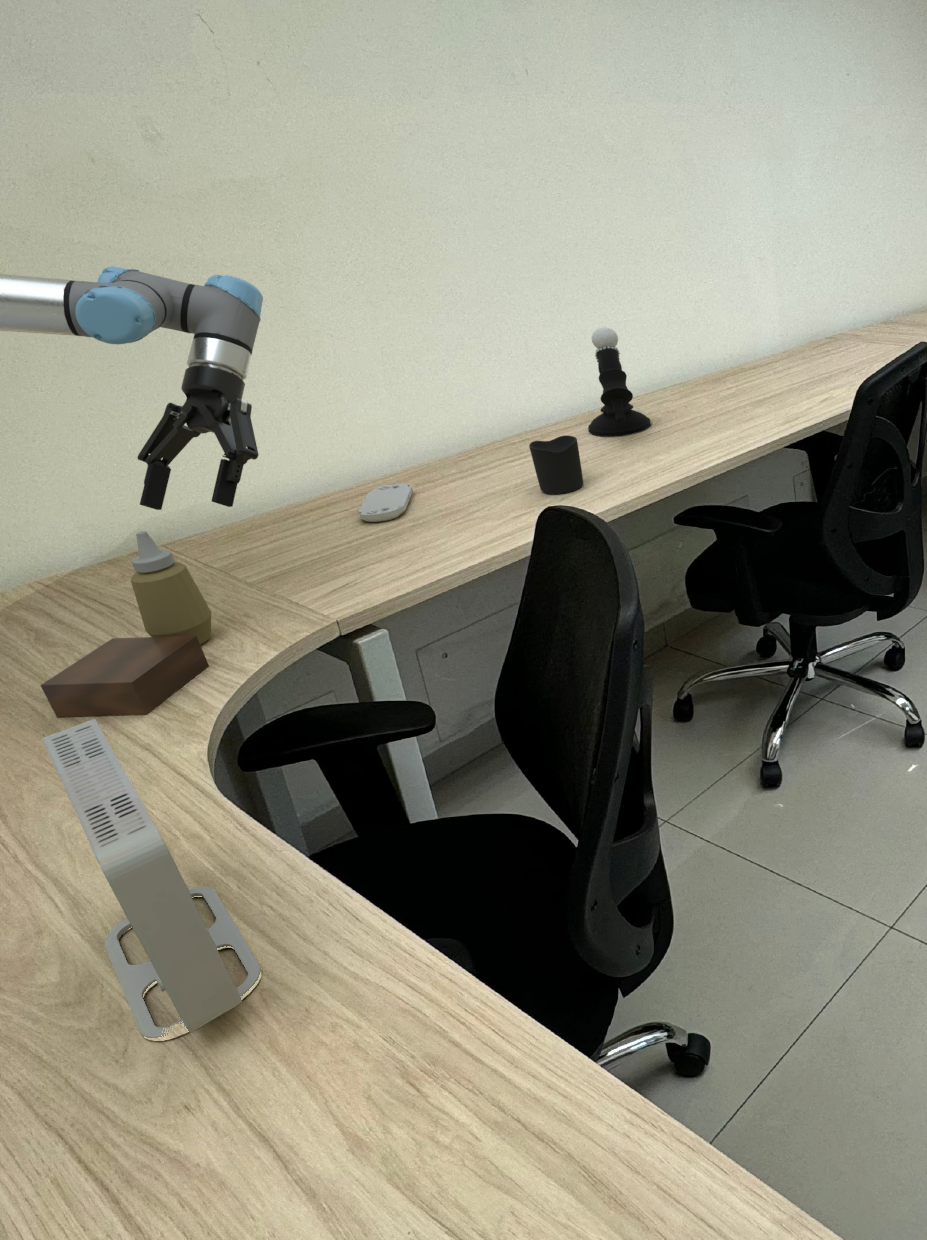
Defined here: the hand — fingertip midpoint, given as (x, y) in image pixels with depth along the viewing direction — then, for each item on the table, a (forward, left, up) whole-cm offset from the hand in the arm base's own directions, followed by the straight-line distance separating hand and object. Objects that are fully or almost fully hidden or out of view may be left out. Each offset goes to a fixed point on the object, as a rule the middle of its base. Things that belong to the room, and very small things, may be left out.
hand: (185, 506), depth 135 cm
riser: (+1, -21, -19) cm, 28 cm away
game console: (+2, +46, -19) cm, 50 cm away
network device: (+40, -67, -19) cm, 81 cm away
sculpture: (+37, +93, -19) cm, 102 cm away
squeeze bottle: (-1, -8, -19) cm, 21 cm away
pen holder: (+35, +54, -19) cm, 67 cm away
